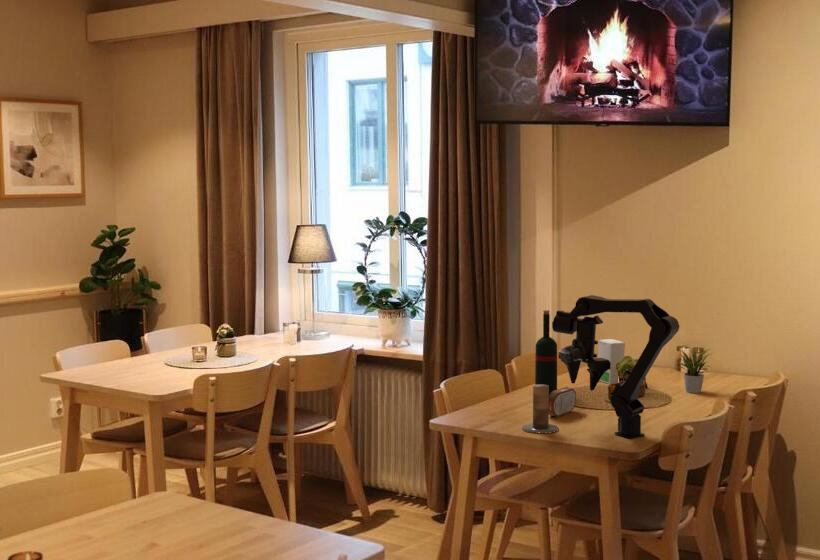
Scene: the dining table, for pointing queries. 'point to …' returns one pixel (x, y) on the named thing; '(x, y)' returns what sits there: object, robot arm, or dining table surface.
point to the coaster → (530, 429)
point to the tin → (562, 401)
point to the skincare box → (611, 358)
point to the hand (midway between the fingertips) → (582, 386)
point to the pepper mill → (540, 406)
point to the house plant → (693, 371)
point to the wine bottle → (546, 357)
